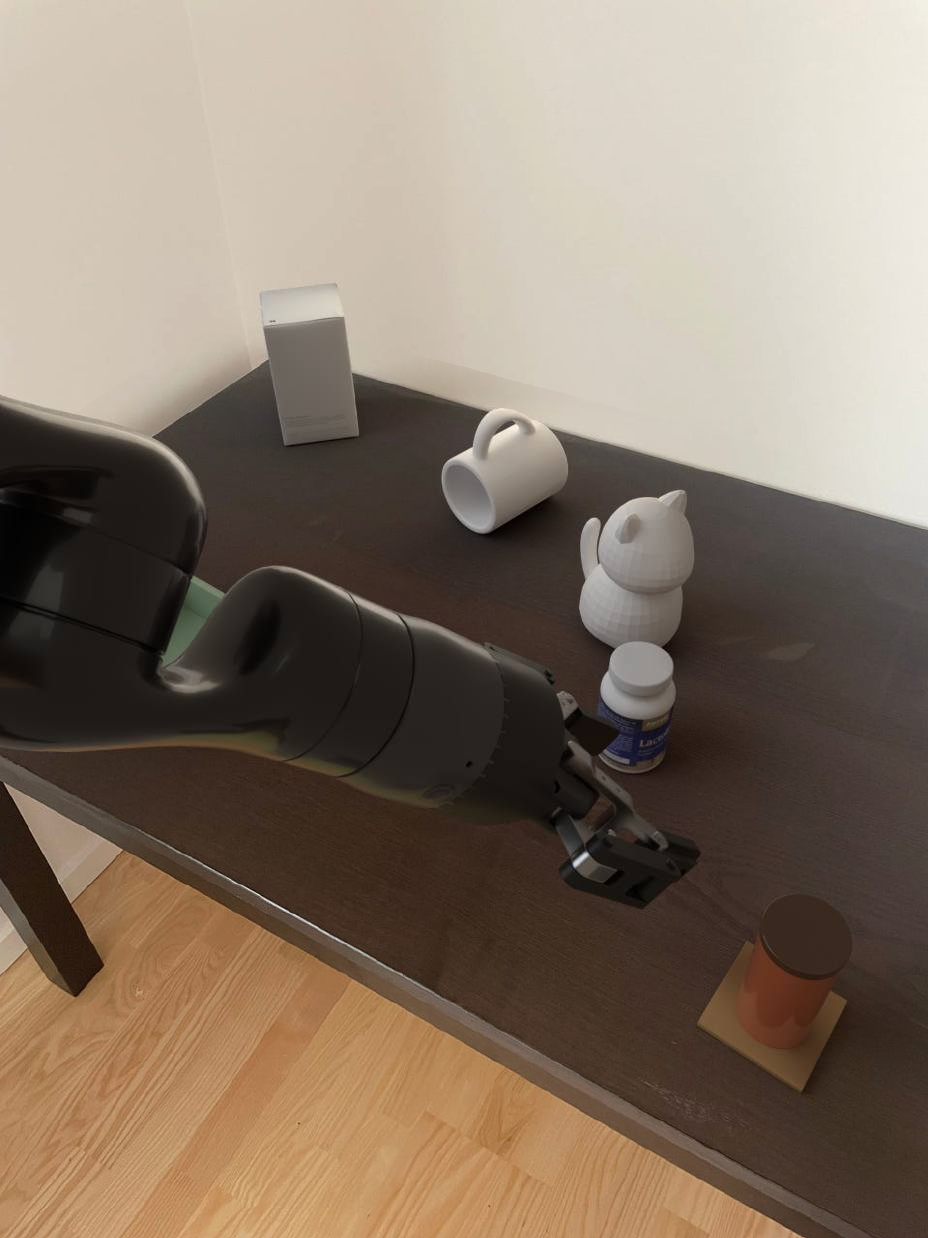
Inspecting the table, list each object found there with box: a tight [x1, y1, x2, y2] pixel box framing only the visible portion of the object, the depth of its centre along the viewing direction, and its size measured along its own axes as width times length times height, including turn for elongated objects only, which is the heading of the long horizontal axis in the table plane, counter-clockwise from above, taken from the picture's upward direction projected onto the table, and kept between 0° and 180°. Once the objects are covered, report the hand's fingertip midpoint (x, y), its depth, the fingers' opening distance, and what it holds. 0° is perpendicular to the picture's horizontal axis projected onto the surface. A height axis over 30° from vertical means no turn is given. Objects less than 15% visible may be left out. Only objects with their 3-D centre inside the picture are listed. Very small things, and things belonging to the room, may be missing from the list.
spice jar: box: [736, 893, 853, 1048], centre depth 59 cm, size 5×5×10 cm
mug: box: [441, 407, 569, 535], centre depth 98 cm, size 8×10×12 cm
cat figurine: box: [578, 489, 695, 650], centre depth 84 cm, size 9×12×15 cm
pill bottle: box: [596, 642, 677, 774], centre depth 75 cm, size 6×6×10 cm
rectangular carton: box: [259, 282, 360, 446], centre depth 110 cm, size 9×9×15 cm
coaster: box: [696, 940, 848, 1094], centre depth 62 cm, size 7×7×1 cm
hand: (643, 797), depth 52 cm, fingers open, 8 cm apart
